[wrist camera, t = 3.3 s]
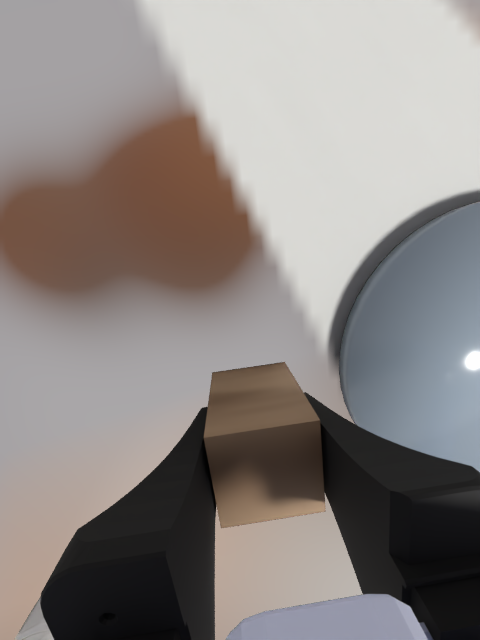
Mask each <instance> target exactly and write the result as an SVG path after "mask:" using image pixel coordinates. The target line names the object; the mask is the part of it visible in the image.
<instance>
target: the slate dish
mask: <svg viewBox="0 0 480 640" xmlns="http://www.w3.org/2000/svg"><path fill="white" fill-rule="evenodd" d="M339 375H340V384H341V390H342V394H343V398H344V402H345V404H346V406H347V409H348V411H349V414H350V416H351V418H352V419H353V421H354V423H355V424H356V425H357V426H359V427H361V428H363V429H365V430H367V431H369V432H371V433H373V434H375V435H377V436H380V437H382V438H384V439H387V440H389V441H392V442H394V443H397V444H399V445H402V446H405V447H407V448H410V449H413V450H416V451H419V452H422V453H425V454H428V455H432V456H435V457H438V458H442V459H446V460H450V461H454V462H458V463H462V464H465V465H469V466H472V467H474V468H475V469H476V470H478V471H479V472H480V201H479V202H475V203H471V204H468V205H465V206H463V207H460V208H457V209H454V210H451V211H449V212H447V213H445V214H443V215H441V216H439V217H437V218H435V219H433V220H431V221H430V222H428V223H427V224H425V225H424V226H422V227H420V228H419V229H417V230H416V231H414V232H413V233H412V234H410V235H409V236H408V237H407V238H406V239H404V240H403V241H402V242H401V243H400V244H398V245H397V246H396V247H395V248H394V249H393V250H392V251H391V252H390V253H389V254H388V255H387V256H386V258H385V259H384V260H383V261H382V262H381V263H380V264H379V265H378V267H377V268H376V269H375V271H374V272H373V273H372V275H371V276H370V277H369V279H368V280H367V282H366V283H365V285H364V287H363V288H362V290H361V292H360V293H359V295H358V297H357V298H356V301H355V303H354V305H353V308H352V310H351V312H350V314H349V317H348V320H347V323H346V326H345V330H344V333H343V337H342V343H341V349H340V360H339Z"/></svg>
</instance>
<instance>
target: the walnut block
mask: <svg viewBox="0 0 480 640" xmlns="http://www.w3.org/2000/svg"><path fill="white" fill-rule="evenodd" d="M204 442H205V447H206V452H207V458H208V463H209V468H210V473H211V478H212V483H213V489H214V494H215V499H216V504H217V509H218V514H219V520H220V525H221V528H226V527H231V526H239V525H244V524H251V523H257V522H263V521H269V520H276V519H282V518H288V517H294V516H300V515H307V514H313V513H319V512H325V494H324V478H323V461H322V444H321V427H320V419H319V418H318V416H317V414H316V413H315V411H314V409H313V408H312V406H311V404H310V403H309V401H308V399H307V398H306V396H305V395H304V393H303V391H302V390H301V388H300V386H299V385H298V383H297V381H296V380H295V378H294V376H293V375H292V373H291V372H290V370H289V368H288V367H287V365H286V364H285V362H282V363H275V364H268V365H261V366H254V367H247V368H241V369H233V370H227V371H220V372H213V373H212V380H211V388H210V395H209V402H208V409H207V417H206V424H205V432H204Z"/></svg>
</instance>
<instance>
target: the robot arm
mask: <svg viewBox="0 0 480 640" xmlns="http://www.w3.org/2000/svg"><path fill="white" fill-rule="evenodd" d="M304 395H305V396H306V398H307V399H308V401H309V403H310V404H311V406H312V408H313V409H314V411H315V413H316V414H317V416H318V418H319V419H320V427H321V444H322V461H323V478H324V492H325V494H326V496H327V499H328V501H329V503H330V506H331V508H332V511H333V513H334V516H335V519H336V521H337V524H338V526H339V529H340V532H341V534H342V537H343V540H344V542H345V545H346V548H347V551H348V554H349V556H350V559H351V562H352V564H353V568H354V570H355V573H356V576H357V579H358V582H359V584H360V587H361V590H362V593H363V595H358V596H352V597H346V598H340V599H334V600H328V601H323V602H317V603H311V604H305V605H299V606H293V607H288V608H282V609H276V610H270V611H264V612H262V613H259V614H256V615H253V616H251V617H248V618H245V619H243V620H242V621H241V622H240V623H239V624H238V625H237V626H236V627H235V628H234V629H233V630H232V631H231V632H230V633H229V635H228V636H227V638H226V640H480V472H479V471H478V470H476V469H475V468H474V467H472V466H469V465H465V464H462V463H458V462H454V461H450V460H446V459H442V458H438V457H435V456H432V455H428V454H425V453H422V452H419V451H416V450H413V449H410V448H407V447H405V446H402V445H399V444H397V443H394V442H392V441H389V440H387V439H384V438H382V437H380V436H377V435H375V434H373V433H371V432H369V431H367V430H365V429H363V428H361V427H359V426H357V425H355V424H353V423H352V422H350V421H348V420H346V419H344V418H343V417H341V416H340V415H338V414H337V413H335V412H333V411H332V410H330V409H329V408H327V407H326V406H324V405H323V404H322V403H320V402H319V401H317V400H316V399H315V398H313V397H312V396H310V395H309V394H307V393H306V392H305V393H304ZM207 409H208V407H204V408H202V409H201V410H200V411H199V413H198V415H197V416H196V418H195V419H194V421H193V422H192V424H191V426H190V427H189V428H188V430H187V431H186V433H185V434H184V436H183V437H182V438H181V440H180V441H179V442H178V444H177V445H176V446H175V447H174V448H173V450H172V451H171V452H170V453H169V455H168V456H167V457H166V458H165V459H164V460H163V461H162V462H161V463H160V464H159V466H157V467H156V468H155V469H154V470H153V471H152V472H151V473H150V474H149V475H148V476H147V477H146V478H145V479H144V480H143V481H142V482H140V483H139V485H137V486H136V487H135V488H134V489H132V490H131V491H130V492H129V493H128V494H126V495H125V496H124V497H123V498H121V499H120V500H119V501H118V502H116V503H115V504H114V505H113V506H111V507H110V508H108V509H107V510H105V511H104V512H102V513H101V514H100V515H98V516H97V517H95V518H94V519H92V520H91V521H90V522H88V523H87V524H85V525H84V526H82V527H81V528H79V529H78V530H77V532H76V533H75V535H74V536H73V538H72V539H71V541H70V543H69V544H68V546H67V548H66V549H65V551H64V553H63V555H62V557H61V558H60V560H59V562H58V564H57V566H56V567H55V569H54V571H53V573H52V575H51V576H50V578H49V580H48V582H47V583H46V586H45V587H44V589H43V591H42V593H41V600H40V605H41V610H42V613H43V617H44V619H45V621H46V623H47V625H48V628H49V630H50V632H51V634H52V636H53V638H54V640H215V611H214V609H215V601H214V599H215V597H214V596H215V595H214V578H215V574H214V572H215V568H214V567H215V555H214V554H215V516H216V499H215V494H214V489H213V483H212V478H211V473H210V468H209V463H208V458H207V452H206V447H205V442H204V432H205V424H206V417H207Z"/></svg>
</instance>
